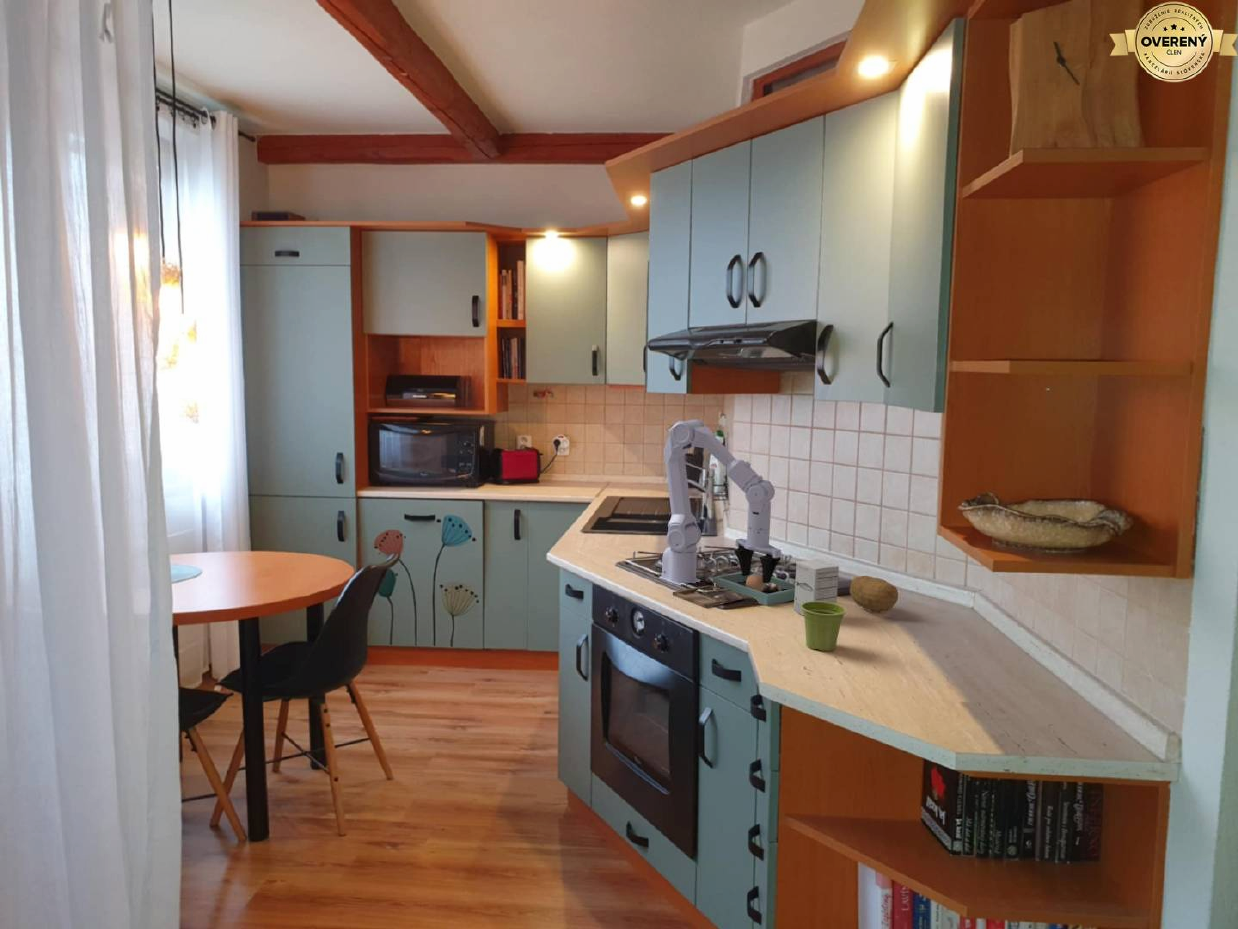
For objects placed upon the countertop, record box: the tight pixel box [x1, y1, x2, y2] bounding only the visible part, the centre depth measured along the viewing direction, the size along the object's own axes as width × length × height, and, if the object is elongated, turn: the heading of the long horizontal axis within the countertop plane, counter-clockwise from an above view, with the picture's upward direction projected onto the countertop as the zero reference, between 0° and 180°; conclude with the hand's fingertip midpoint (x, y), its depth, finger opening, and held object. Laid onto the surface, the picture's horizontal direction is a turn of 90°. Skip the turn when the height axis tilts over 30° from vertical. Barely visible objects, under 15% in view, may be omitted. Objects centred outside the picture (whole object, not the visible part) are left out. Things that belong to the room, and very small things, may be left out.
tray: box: [712, 569, 795, 607], centre depth 215 cm, size 20×14×3 cm
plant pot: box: [801, 601, 847, 652], centre depth 176 cm, size 9×9×9 cm
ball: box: [745, 574, 766, 592], centre depth 214 cm, size 5×5×5 cm
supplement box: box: [793, 558, 840, 616], centre depth 198 cm, size 7×7×13 cm
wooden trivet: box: [672, 584, 736, 609], centre depth 209 cm, size 13×13×1 cm
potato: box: [849, 575, 899, 613], centre depth 203 cm, size 10×14×8 cm
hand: (756, 579), depth 214 cm, fingers open, 7 cm apart
